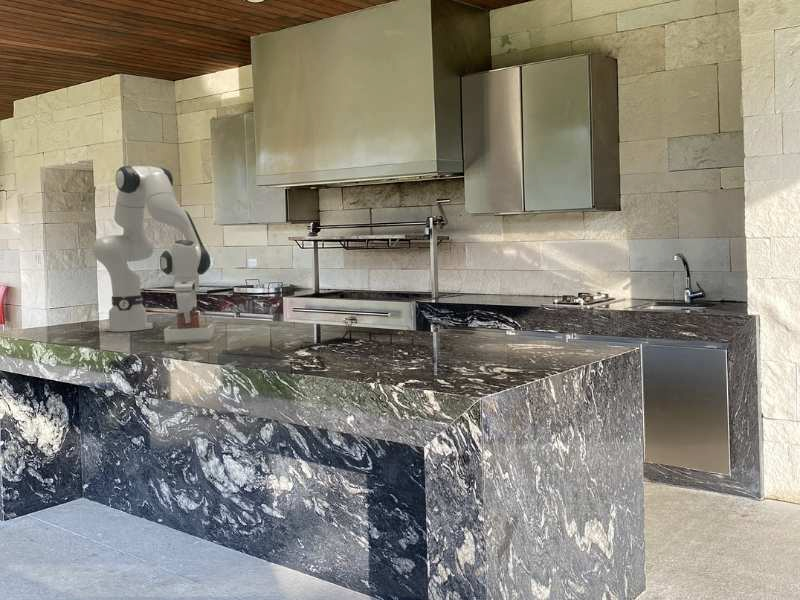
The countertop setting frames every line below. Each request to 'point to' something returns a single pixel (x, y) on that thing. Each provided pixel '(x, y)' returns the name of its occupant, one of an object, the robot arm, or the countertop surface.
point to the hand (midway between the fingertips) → (188, 322)
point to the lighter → (193, 320)
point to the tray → (189, 334)
